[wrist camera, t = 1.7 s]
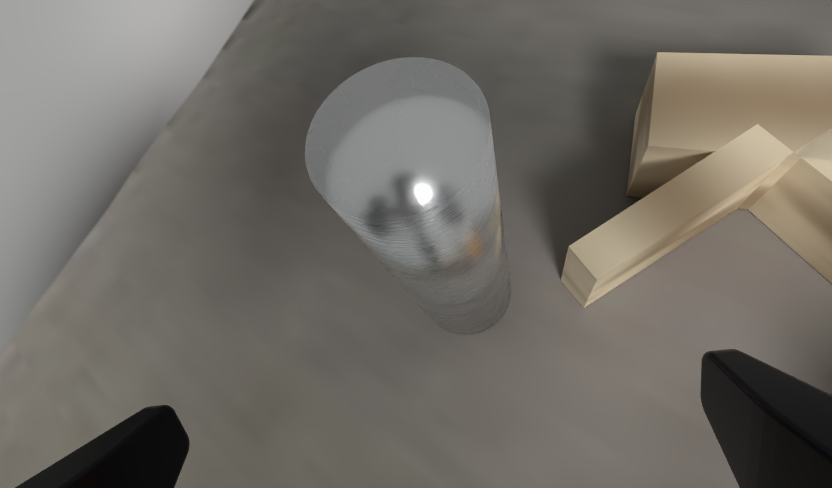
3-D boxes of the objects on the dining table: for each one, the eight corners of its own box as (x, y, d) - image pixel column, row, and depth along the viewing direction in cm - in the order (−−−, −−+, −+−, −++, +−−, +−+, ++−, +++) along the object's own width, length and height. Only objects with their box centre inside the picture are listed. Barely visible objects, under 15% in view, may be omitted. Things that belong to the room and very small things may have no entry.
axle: (474, 353, 19) (404, 258, 8) (405, 299, 21) (269, 159, 10) (529, 280, 20) (531, 101, 9) (457, 233, 21) (384, 33, 10)
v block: (971, 379, 15) (1112, 365, 11) (557, 303, 19) (564, 274, 15) (936, 133, 18) (1039, 60, 14) (586, 112, 22) (598, 51, 18)
